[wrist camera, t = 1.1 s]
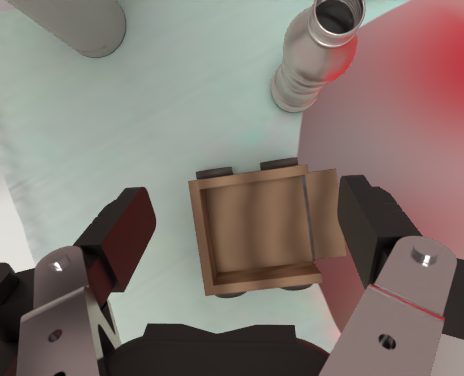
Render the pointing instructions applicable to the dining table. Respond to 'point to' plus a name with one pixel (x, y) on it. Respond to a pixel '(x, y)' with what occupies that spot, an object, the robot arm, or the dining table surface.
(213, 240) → the tray
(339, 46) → the grey ridged cylindrical piece
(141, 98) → the dining table surface
